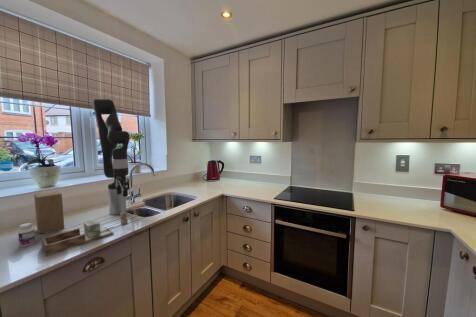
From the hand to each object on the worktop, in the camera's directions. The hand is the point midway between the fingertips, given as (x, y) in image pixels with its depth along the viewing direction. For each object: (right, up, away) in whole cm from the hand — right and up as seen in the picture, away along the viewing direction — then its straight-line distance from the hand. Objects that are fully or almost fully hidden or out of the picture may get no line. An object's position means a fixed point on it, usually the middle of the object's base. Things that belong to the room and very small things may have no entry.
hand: (122, 195), depth 114 cm
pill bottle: (-35, -20, -17) cm, 44 cm away
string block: (-5, -18, -5) cm, 19 cm away
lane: (-13, -20, -14) cm, 27 cm away
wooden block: (-40, -19, -1) cm, 44 cm away
